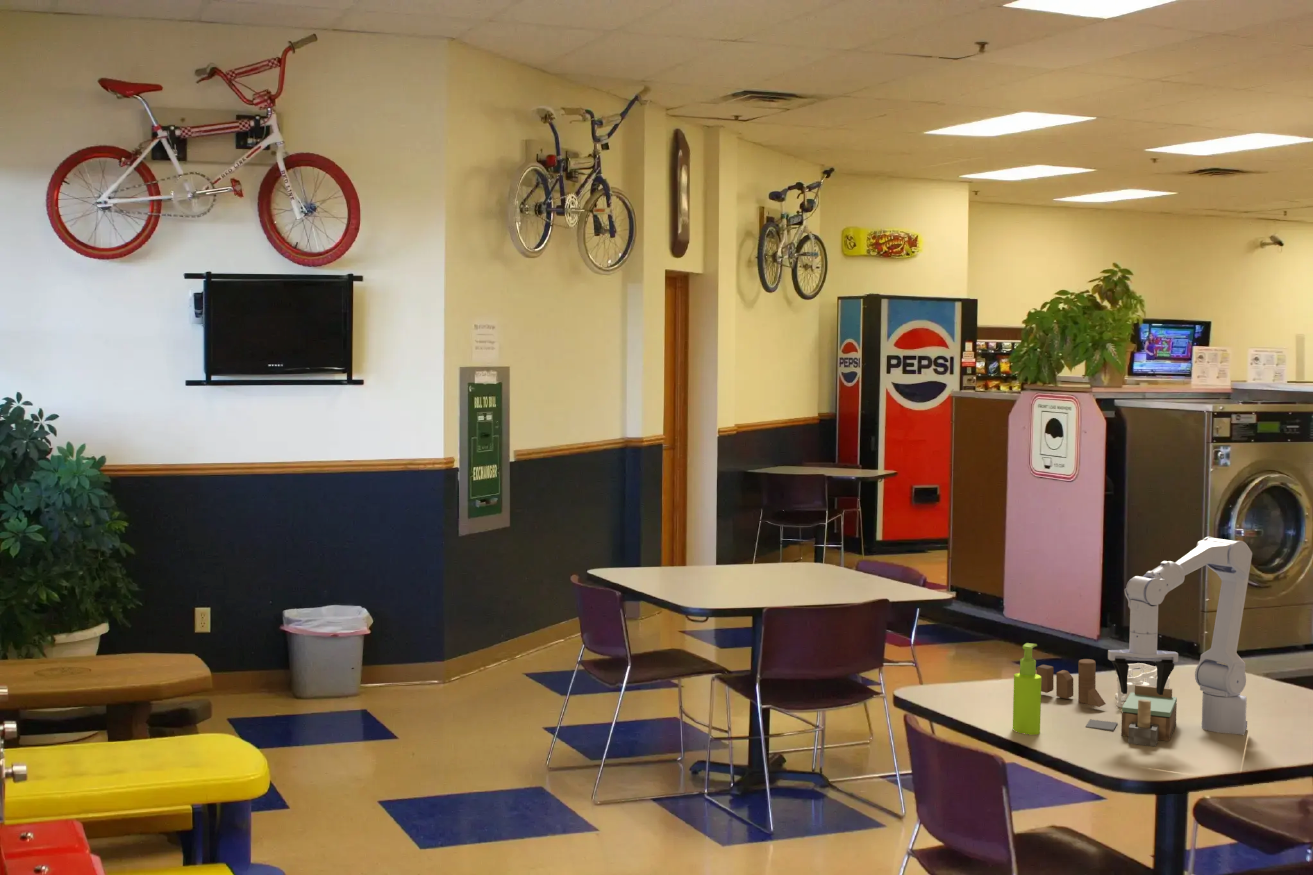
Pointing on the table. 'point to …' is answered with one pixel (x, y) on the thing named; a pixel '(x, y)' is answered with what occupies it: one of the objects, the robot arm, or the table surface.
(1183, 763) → the table surface
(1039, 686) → the soap dispenser
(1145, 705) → the beige banded cylinder
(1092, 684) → the wooden block set
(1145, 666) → the wheeled car silhouette
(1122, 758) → the table surface
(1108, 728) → the mat
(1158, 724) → the toolbox
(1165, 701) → the toolbox lid
